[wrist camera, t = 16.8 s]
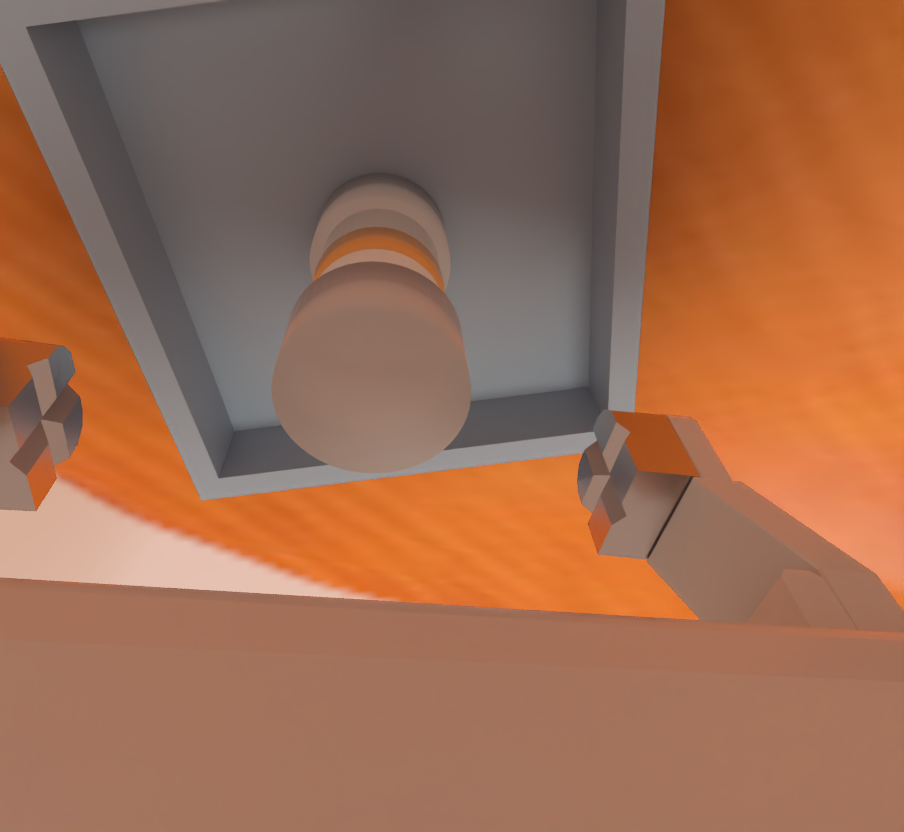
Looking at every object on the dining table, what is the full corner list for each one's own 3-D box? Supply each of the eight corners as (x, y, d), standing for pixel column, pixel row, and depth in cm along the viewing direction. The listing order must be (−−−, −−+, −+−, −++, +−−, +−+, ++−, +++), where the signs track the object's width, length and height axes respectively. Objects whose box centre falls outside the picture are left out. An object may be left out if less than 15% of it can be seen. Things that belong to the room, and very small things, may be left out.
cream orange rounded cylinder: (303, 182, 17) (245, 323, 11) (438, 164, 17) (461, 295, 11) (333, 304, 19) (298, 483, 13) (452, 289, 19) (479, 461, 13)
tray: (35, -22, 15) (-37, -17, 12) (628, -101, 15) (673, -111, 12) (222, 441, 23) (201, 500, 20) (606, 393, 23) (631, 447, 20)
